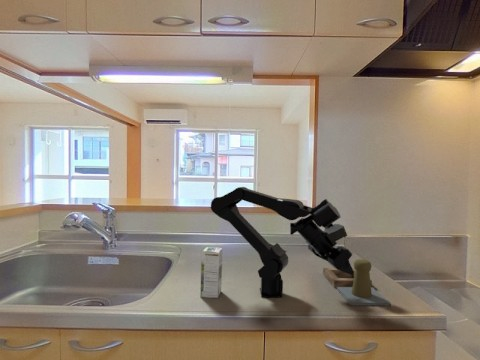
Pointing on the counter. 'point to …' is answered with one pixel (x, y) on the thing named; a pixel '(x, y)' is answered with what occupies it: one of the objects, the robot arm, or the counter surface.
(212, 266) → the syrup box
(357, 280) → the cork
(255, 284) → the counter surface
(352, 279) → the frame
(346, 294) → the blue gray mat
